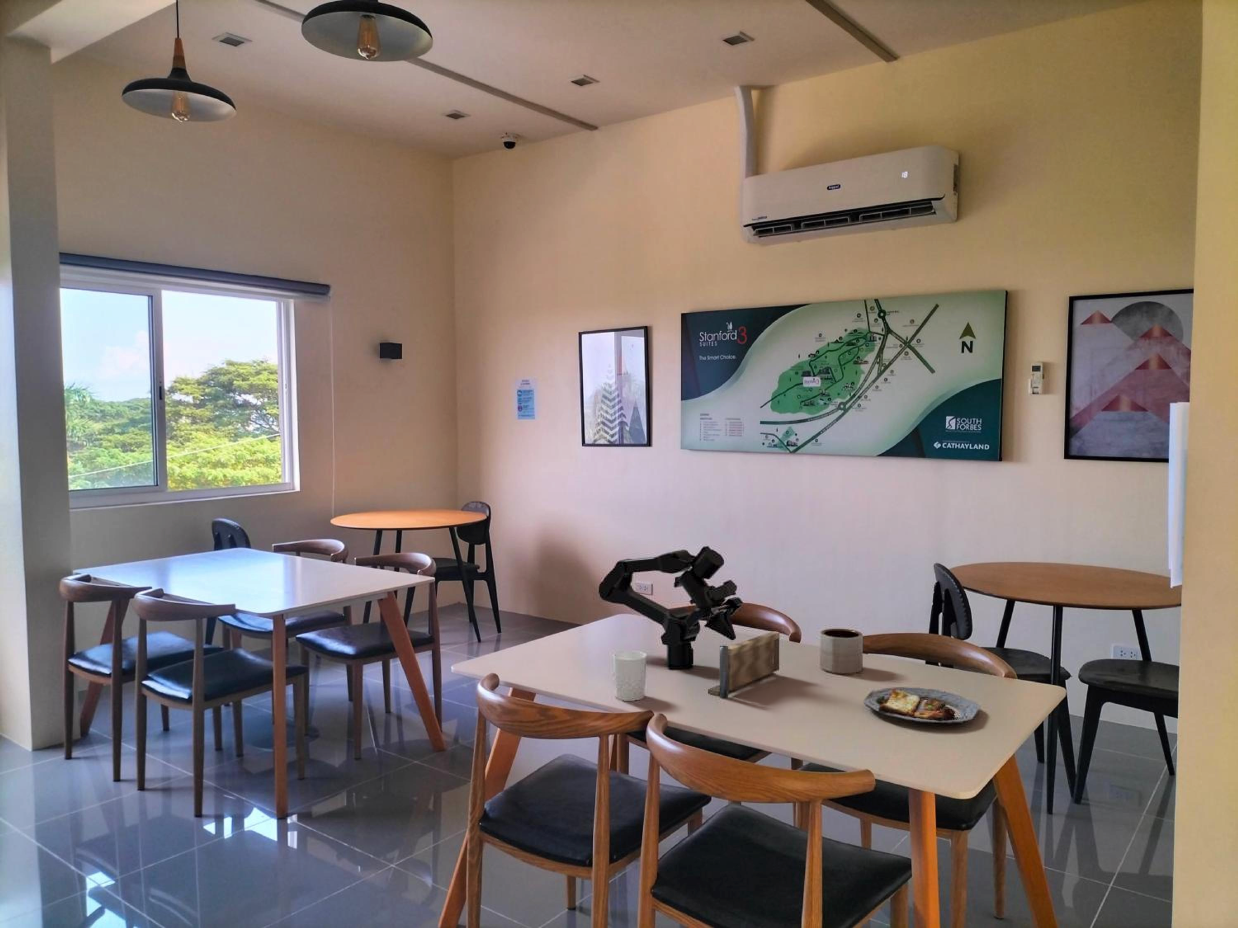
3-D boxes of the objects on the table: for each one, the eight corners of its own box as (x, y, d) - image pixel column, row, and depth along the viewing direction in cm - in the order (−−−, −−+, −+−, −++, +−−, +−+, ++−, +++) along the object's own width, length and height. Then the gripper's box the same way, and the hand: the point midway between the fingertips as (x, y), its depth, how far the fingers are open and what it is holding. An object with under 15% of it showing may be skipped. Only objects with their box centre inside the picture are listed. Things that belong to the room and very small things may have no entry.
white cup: (651, 694, 205) (651, 652, 204) (638, 704, 198) (638, 661, 197) (621, 690, 208) (621, 649, 208) (607, 699, 201) (607, 657, 201)
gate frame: (725, 698, 201) (725, 648, 201) (705, 694, 205) (705, 644, 204) (782, 674, 220) (782, 628, 220) (763, 670, 224) (763, 625, 224)
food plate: (965, 738, 175) (965, 720, 175) (852, 719, 188) (852, 702, 188) (986, 707, 196) (986, 692, 196) (883, 692, 209) (883, 677, 209)
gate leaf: (730, 689, 203) (731, 649, 203) (724, 688, 204) (724, 648, 204) (779, 669, 220) (779, 632, 219) (773, 668, 221) (773, 631, 220)
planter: (816, 672, 223) (817, 635, 222) (823, 661, 233) (823, 626, 232) (860, 677, 218) (860, 639, 218) (864, 665, 229) (865, 630, 228)
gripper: (695, 575, 213) (732, 626, 206) (737, 566, 227) (773, 613, 220) (670, 603, 218) (705, 653, 211) (712, 592, 232) (747, 639, 225)
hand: (734, 639), depth 217 cm, fingers closed
